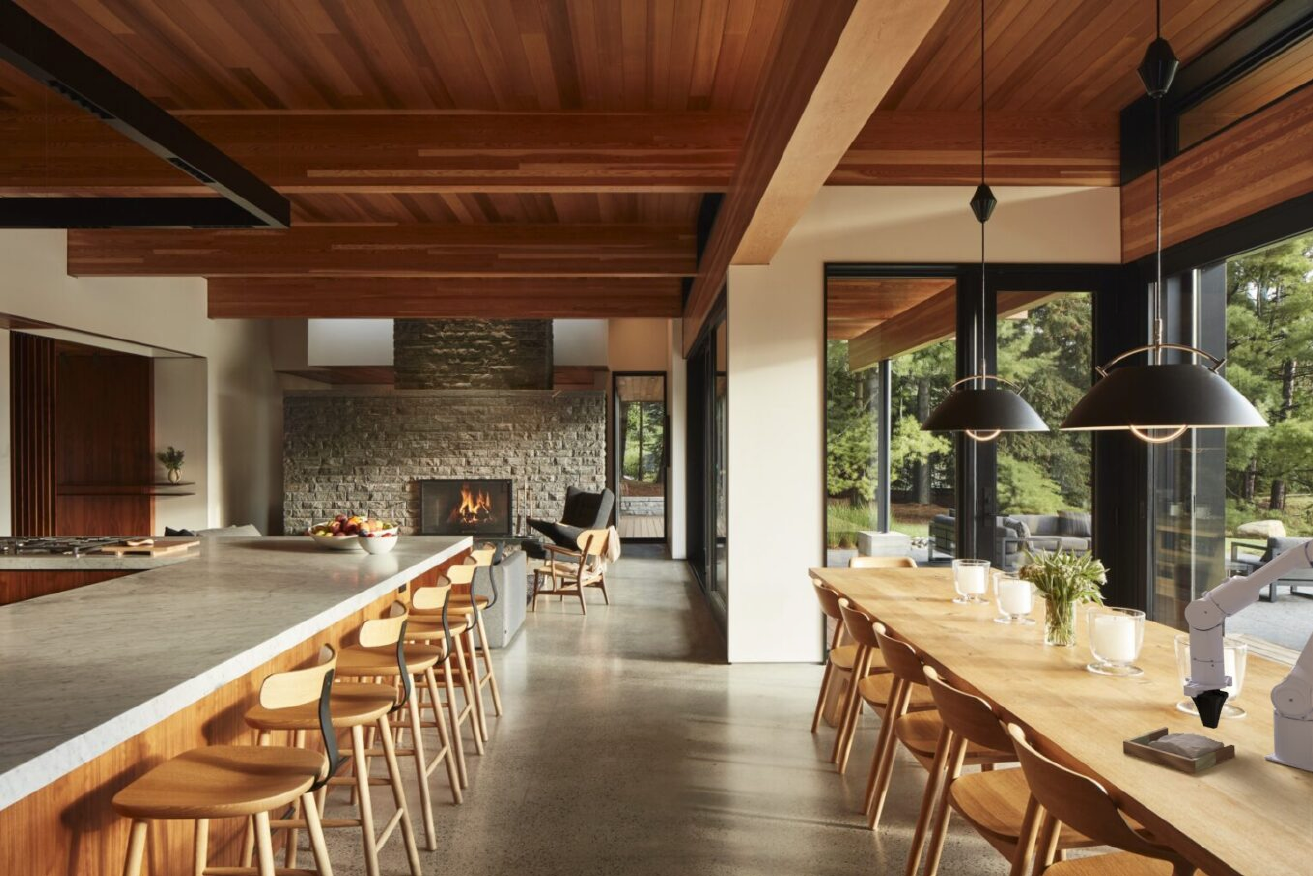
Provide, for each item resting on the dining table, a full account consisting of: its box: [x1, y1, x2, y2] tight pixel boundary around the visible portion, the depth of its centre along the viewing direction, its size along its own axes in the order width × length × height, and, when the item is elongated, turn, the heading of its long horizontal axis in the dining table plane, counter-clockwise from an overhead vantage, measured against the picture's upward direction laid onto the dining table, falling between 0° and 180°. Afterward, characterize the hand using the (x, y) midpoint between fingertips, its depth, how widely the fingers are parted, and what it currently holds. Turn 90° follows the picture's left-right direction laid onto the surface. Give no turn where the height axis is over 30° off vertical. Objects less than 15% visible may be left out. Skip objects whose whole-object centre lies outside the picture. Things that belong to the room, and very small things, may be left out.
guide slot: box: [1122, 726, 1236, 774], centre depth 160 cm, size 13×15×2 cm
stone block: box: [1148, 732, 1225, 759], centre depth 159 cm, size 12×5×10 cm
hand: (1210, 727), depth 166 cm, fingers closed
